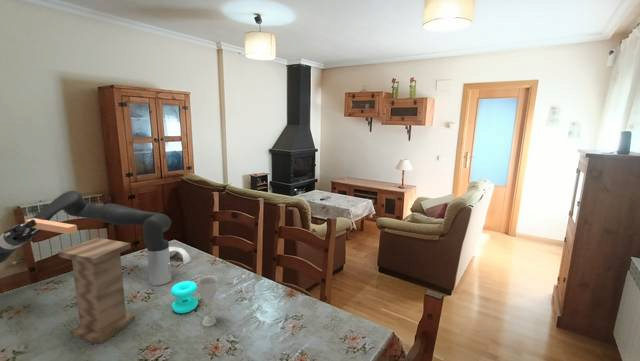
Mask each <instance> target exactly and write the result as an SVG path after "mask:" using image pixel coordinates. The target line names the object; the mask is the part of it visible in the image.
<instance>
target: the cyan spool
mask: <svg viewBox="0 0 640 361" xmlns="http://www.w3.org/2000/svg"><path fill="white" fill-rule="evenodd" d="M197 290H198V285H197V283H196V282H194V281H192V280H184V281H180V282H178V283H175V284H174V285H173V286H172V287H171V290H170V294H171V295H172V296H173V297H174V298H177V299H175V300H174V301H173V303H172V305H171V309H172V311H173V312H174V313H177V314H186V313H189V312H192V311H194V310H195V309H196V308H197V306H198V304H199V300H198V299H197V297H195V296H193V294H195V293H196V292H197Z"/></svg>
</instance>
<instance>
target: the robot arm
mask: <svg viewBox="0 0 640 361" xmlns="http://www.w3.org/2000/svg"><path fill="white" fill-rule="evenodd" d="M61 211H63V212H64V213H65V214H66V215H68V216H71V217H78V218H86V219H91V220H95V221H100V222H103V223H104V222H105V223H107V224H112V225H116V226H142V232H143V234H142V235H143V240H144V241H143V242H144V245H145V246H146V252H147V264H148V280H149V284H150V286H154V287H156V286H164V285H165V284H168V283H169V282H172V281H173V280H172V265H171V264H172V263H171V261H170V260H171V258H170V257H169V247H170V244H169V240H168V239H165V238H164V233H165V232H166V231H168V230H169V229H170V228H171V226H172V220H171V218H170V217H169V216H168V215H166V214H164V213H160V212H152V211H145V210H140V209H137V208H134V207H128V206H125V205H121V204H118V203H106V204H102V205H99V204H93V203H90V202H88V201H86V200H85V199H84V197H83V196H82V194H81V193H80V192H79V191H77V190H69V191H66V192H63V193H62V194H60V195H59V196H58V197H56V198H55V199H54V200H52V201H51V202H50V203H49V204H48V205H46V206H45V207H44V208H43V209H41V210H40V211H39V212H37V213H36V214H35V215H34V216H32V217H31V218H30V219H33V218H36V219H41V220H48V221H51V220H52V219H53V217H54V216H55V215H56V214H58V213H59V212H61ZM35 225H36V222H35V220H34V219H33V220H30V221H29V222H28V223H25V222H23V223H19V224H15V225H14V224H13V225H12V226H11V227H9V228H8V229H6V230H5V231H3V233H2V234H1V235H0V264H2V263H4V262H6V261H7V260H8V258H10V257H11V256H12V255H13V253H14V252H15V251H17V249H18V248H20V247H21V246H22V245H24V244H26V243H27V242H29V241H30V240H31V239H33V238H34V237H36V236H37V235H38V234H40V233H41V232H42V231H43V230H41V229H36V228H32V227H33V226H35Z"/></svg>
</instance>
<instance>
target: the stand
mask: <svg viewBox="0 0 640 361" xmlns="http://www.w3.org/2000/svg"><path fill="white" fill-rule="evenodd" d="M131 248H132V247H131V242H127V241H126V242H124V241H119V240H114V239H107V238H102V237H96V238H94V239H91V240H87V241H85V242H84V241H83V242H82V243H78V244H77V245H73V246H70V247H67V248H65V249H62V250H59V251H58V252H57V253H58V254H57V255H58V258H61V259H67V260H71V262H72V264H71V265H72V272H73V278H74V279H73V280H74V285H75V286H74V287H75V296H76V303H77V309H78V310H77V312H78V319H79V320H78V321H79V325H77V326H76V327H74V328H72V329H71V330H70V335H71V336H72V337H76V338H79V339H83V340H86V341H90V342H93V343H97V344H100V345H101V344H103V343H105V342H106V341H107V340H108V339H111V338H112V337H113V336H115V335H116V334H117V333H119V332H120V331H121V330H123V329H125V328H126V327H127V326H129V325H131V324H132V323H133V322H135V321H136V316H135V315H134V314H131V313H127V312H126V303H125V300H126V299H125V290H124V280H123V270H122V269H123V268H122V259H121V253H124V252H126V251H128V250H131Z"/></svg>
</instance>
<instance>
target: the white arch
mask: <svg viewBox="0 0 640 361" xmlns="http://www.w3.org/2000/svg"><path fill="white" fill-rule="evenodd" d="M176 253H179V254H180V255H181V256H182V263H183V265H186V264H189V263H190V262H192V258H191V256H190V254H189V253H188V252H187V251H186V250H185V249H184V248H182V247H176V246H169V257H171V258H173V256H175V255H176Z"/></svg>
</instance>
